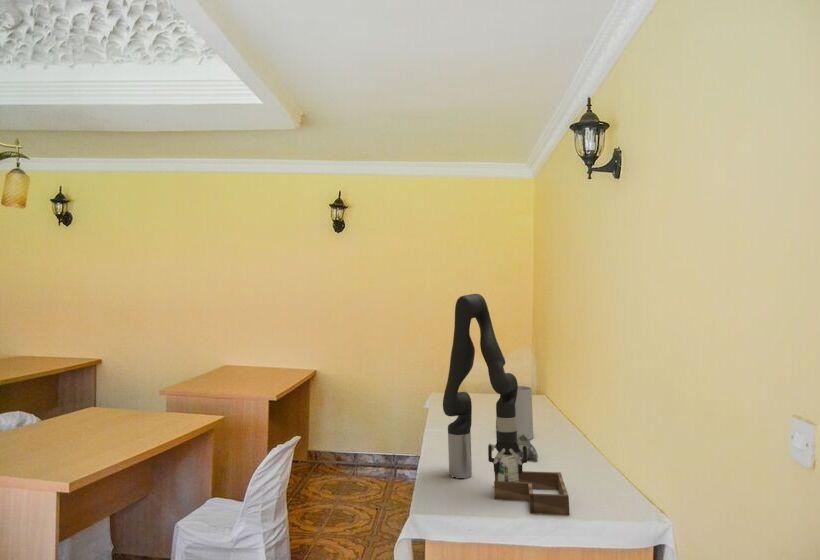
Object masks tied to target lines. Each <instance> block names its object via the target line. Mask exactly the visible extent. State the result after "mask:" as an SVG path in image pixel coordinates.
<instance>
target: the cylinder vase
mask: <svg viewBox="0 0 820 560" xmlns="http://www.w3.org/2000/svg"><path fill="white" fill-rule="evenodd" d="M515 410H516V422H517V436H518V434H524V435H525V436H526V437H528V438H529V440H530V441H531V440H533V439H534V423H533V421H534V420H533V419H534V418H533V416H534V415H533V393H532V387H531V386H526V385H525V386H524V385H518V390H517V397H516V402H515Z"/></svg>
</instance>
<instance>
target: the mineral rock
mask: <svg viewBox="0 0 820 560" xmlns="http://www.w3.org/2000/svg"><path fill="white" fill-rule="evenodd" d="M517 443H518V445H524V444H525V445H526V449H527V459H531V460H532V459H538V458H539V455H538V452H537V449H536V448H535V446H534V445H533V444H532V443H531V440H529V438H528V437H526V436H525V435H524V434H518V436H517ZM516 453H517V454H518V455H519V457H521V458H523V452H522V451H521V449H518V451H517V452H516Z"/></svg>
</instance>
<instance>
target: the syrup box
mask: <svg viewBox="0 0 820 560" xmlns="http://www.w3.org/2000/svg"><path fill="white" fill-rule="evenodd" d="M497 454H499V453H498V452H497V453H496V455H497ZM516 455H517V454H516ZM517 456H518V455H517ZM498 481H504V482H519V469H518V462H517V460H516V459H515V458H514V456H513V455H510V454H503V455H502V456H501V458H500V459H499V460H498Z"/></svg>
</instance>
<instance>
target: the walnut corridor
mask: <svg viewBox="0 0 820 560" xmlns="http://www.w3.org/2000/svg"><path fill="white" fill-rule="evenodd" d="M522 471H523V472H522V473H521V475H519V482H504V481H498V474H496V472H494V481H493V484H494V485H493V486H494V487H493V488H494V500H495V499H502V500H501V501H517V502H518V501H521V502H523V501H525V502H528V505H529V512H530V514H538V513H542V515H543V514H544V515H562V516H563V515H564V516H570V498H569V497H570V496H569V494H568V490H567V487H566V485H565V481H564V477H563V475H562V472H559V471H558V472H557V471H527V470H526V471H525V470H522ZM534 490H547V491H548V490H549V491H552V490H553V491H558V494H556V493H555V494H552V493H534Z"/></svg>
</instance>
